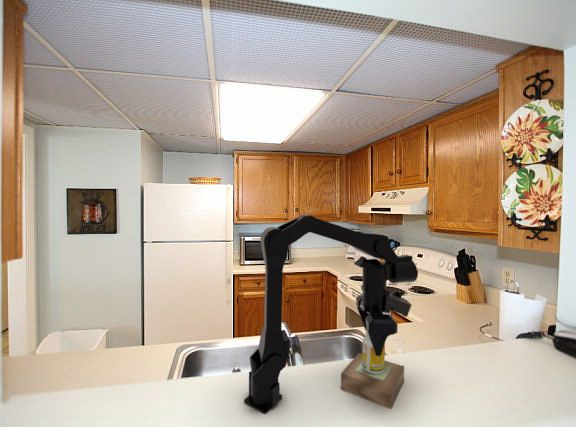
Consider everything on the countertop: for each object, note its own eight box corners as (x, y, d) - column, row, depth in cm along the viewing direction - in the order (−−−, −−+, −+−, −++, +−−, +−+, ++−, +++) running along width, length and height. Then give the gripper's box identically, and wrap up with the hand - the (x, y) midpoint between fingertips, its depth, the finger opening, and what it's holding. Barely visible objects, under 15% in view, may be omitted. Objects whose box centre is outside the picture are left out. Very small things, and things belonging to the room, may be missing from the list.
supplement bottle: (358, 368, 71) (358, 330, 71) (368, 360, 75) (369, 324, 75) (378, 377, 68) (379, 337, 68) (388, 368, 72) (388, 330, 71)
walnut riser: (341, 389, 70) (341, 372, 70) (358, 366, 80) (358, 352, 80) (391, 408, 63) (391, 390, 63) (403, 381, 73) (404, 365, 73)
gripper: (422, 296, 61) (421, 368, 61) (396, 275, 80) (395, 331, 80) (369, 295, 62) (368, 366, 62) (355, 274, 81) (355, 329, 81)
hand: (373, 346), depth 71 cm, fingers open, 9 cm apart
